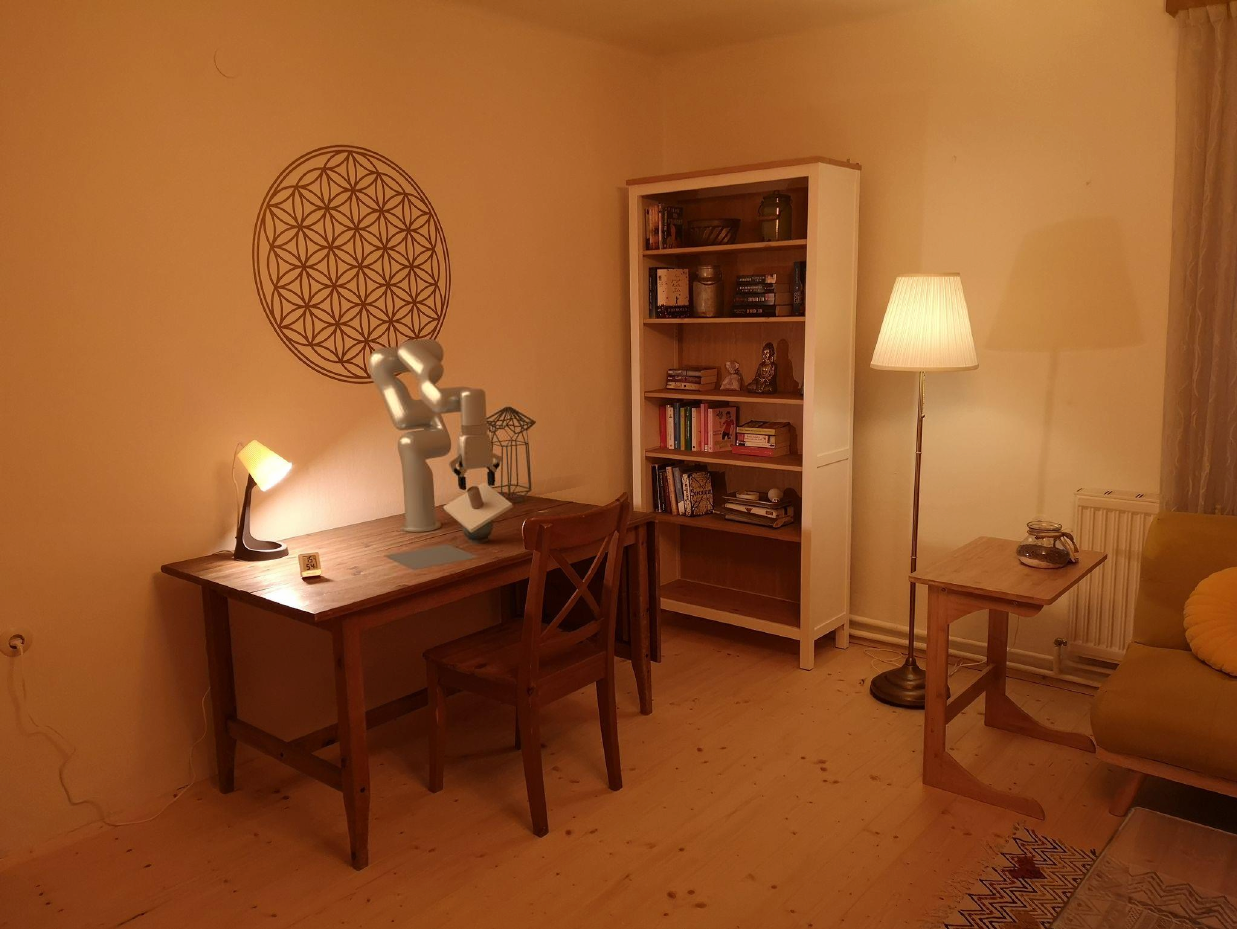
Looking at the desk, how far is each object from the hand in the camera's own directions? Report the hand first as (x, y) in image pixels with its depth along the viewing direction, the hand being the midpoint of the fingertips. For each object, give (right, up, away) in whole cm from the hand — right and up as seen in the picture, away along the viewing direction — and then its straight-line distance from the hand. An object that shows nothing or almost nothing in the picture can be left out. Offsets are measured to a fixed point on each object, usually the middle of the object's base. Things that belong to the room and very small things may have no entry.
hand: (477, 487), depth 287 cm
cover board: (0, -6, +1) cm, 6 cm away
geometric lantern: (+3, -7, +63) cm, 63 cm away
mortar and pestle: (0, -17, +3) cm, 17 cm away
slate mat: (-11, -20, -15) cm, 27 cm away
